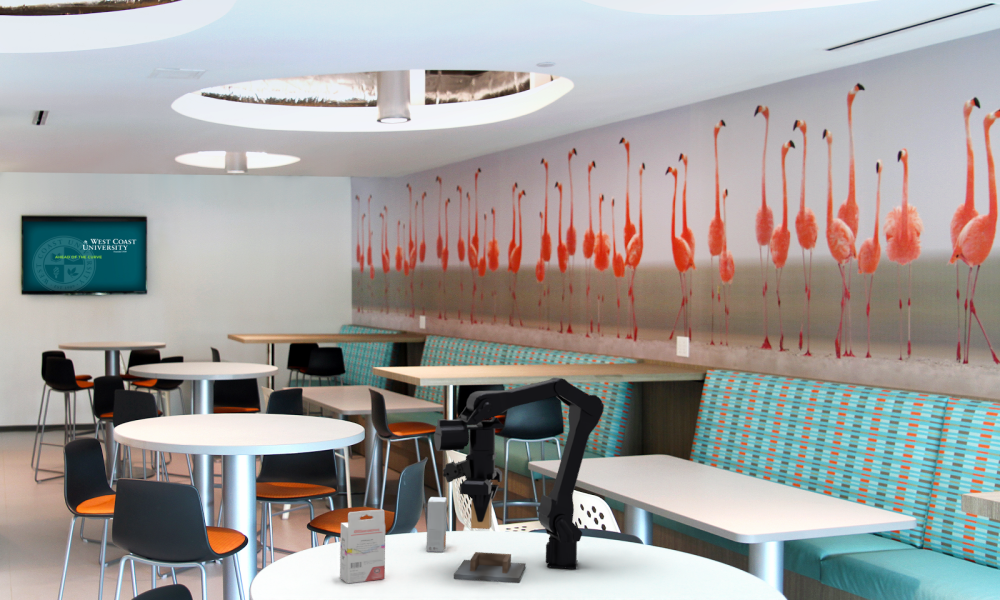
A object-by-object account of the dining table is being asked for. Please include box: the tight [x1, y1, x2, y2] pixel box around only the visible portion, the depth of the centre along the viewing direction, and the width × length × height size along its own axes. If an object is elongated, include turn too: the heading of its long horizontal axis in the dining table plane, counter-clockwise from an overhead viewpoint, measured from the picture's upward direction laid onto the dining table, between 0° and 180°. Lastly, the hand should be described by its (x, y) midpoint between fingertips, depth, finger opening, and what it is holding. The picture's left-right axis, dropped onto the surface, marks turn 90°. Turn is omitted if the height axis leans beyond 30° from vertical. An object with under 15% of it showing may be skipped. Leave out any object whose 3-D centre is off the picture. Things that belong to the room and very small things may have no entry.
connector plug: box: [470, 499, 493, 530], centre depth 198 cm, size 4×3×8 cm
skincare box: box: [426, 496, 448, 553], centre depth 217 cm, size 6×4×12 cm
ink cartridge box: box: [339, 509, 386, 584], centre depth 190 cm, size 9×5×15 cm, turn 117°
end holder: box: [453, 551, 527, 584], centre depth 196 cm, size 14×12×4 cm
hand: (481, 520), depth 198 cm, fingers closed on connector plug, 3 cm apart
